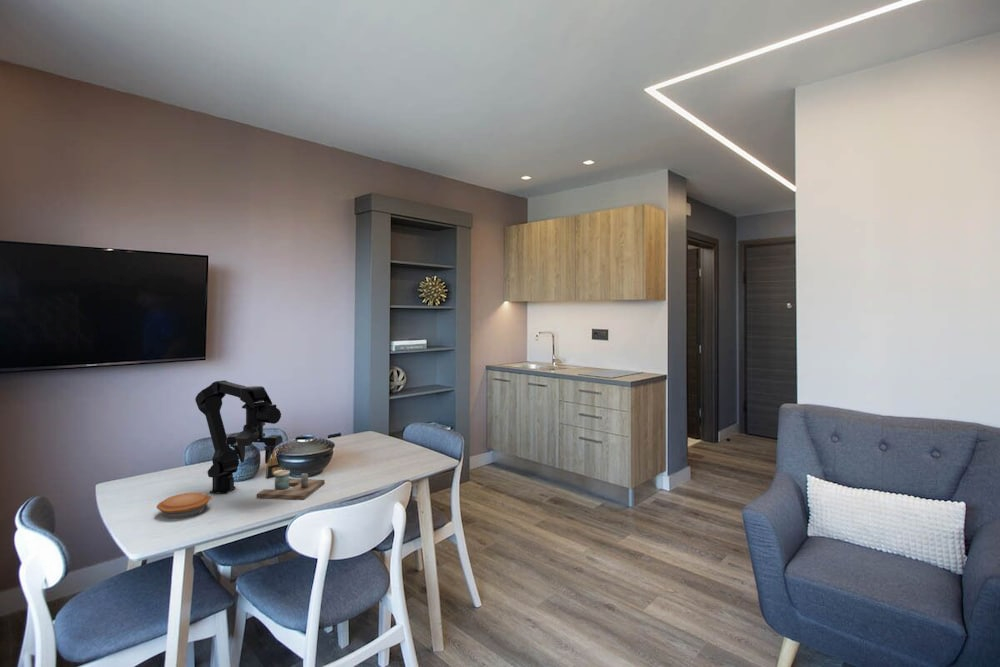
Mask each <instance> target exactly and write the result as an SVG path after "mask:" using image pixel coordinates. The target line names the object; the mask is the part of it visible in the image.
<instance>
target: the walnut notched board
mask: <svg viewBox="0 0 1000 667" xmlns="http://www.w3.org/2000/svg"><path fill="white" fill-rule="evenodd" d="M325 481H326V480H325V479H315V478H314V479H312V478H311V479H310V478H309V474H308V473H307V472H306V473H304V472H303V473H301V474H300V478H290V477H289V486H290V490H274V489H266V488H265V489H264V488H263V489H262V490H261V491H259V492H257V493H256V494H255V496H256V499H275V500H279V499H280V500H296V499H298V501H299V499H300V501H301V500H302V501H304V500H305V499H307V498H308V497H309V496H310V495H312V494H313V493H315V492H316V491H317V490H318V489H319V488H321V487H322V486H323V485H324V484H325ZM291 487H292V488H291Z"/></svg>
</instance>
